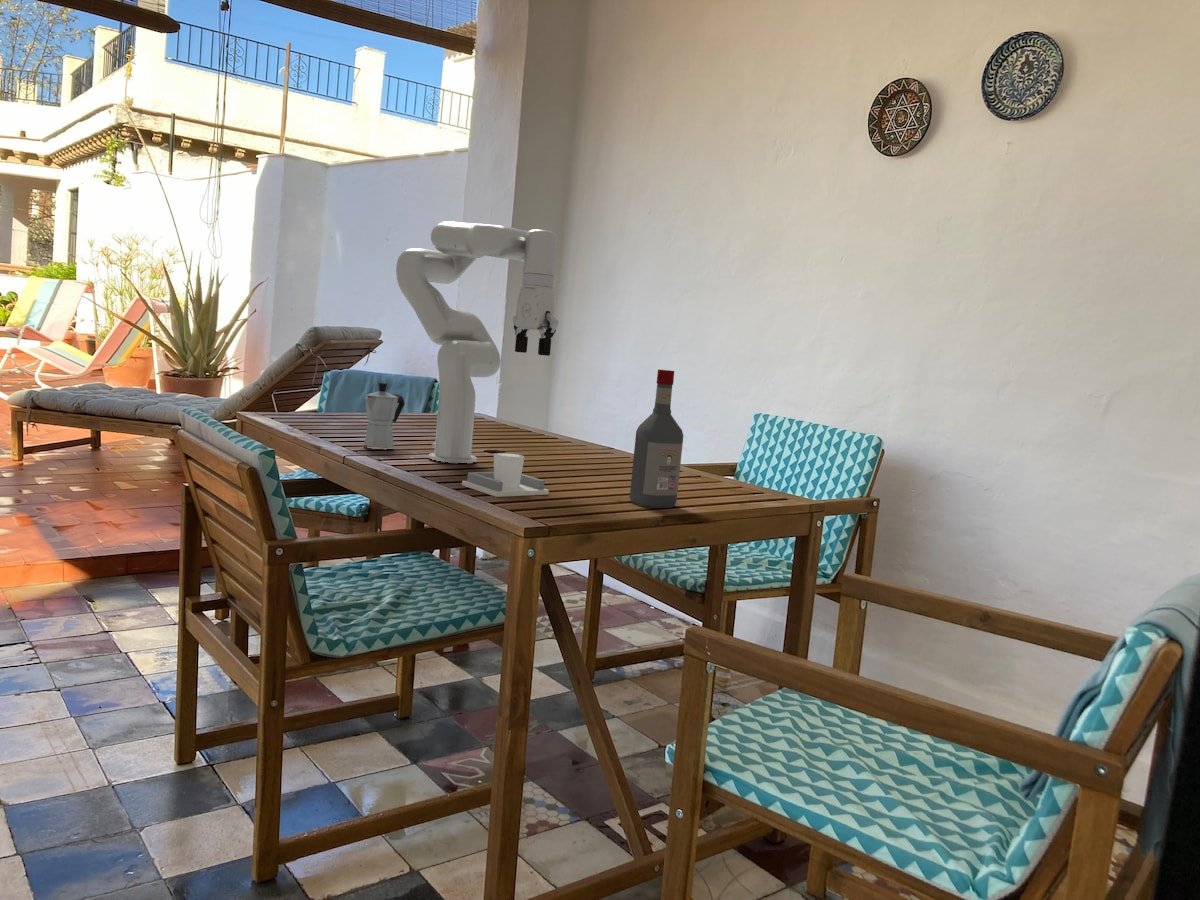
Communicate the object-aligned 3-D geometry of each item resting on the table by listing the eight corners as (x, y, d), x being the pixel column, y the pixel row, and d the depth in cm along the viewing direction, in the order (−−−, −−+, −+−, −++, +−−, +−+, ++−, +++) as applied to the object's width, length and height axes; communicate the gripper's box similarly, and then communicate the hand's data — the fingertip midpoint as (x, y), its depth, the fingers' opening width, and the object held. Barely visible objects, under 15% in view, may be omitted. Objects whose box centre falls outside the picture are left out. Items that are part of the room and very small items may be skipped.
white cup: (485, 483, 210) (487, 452, 209) (508, 482, 215) (510, 452, 214) (505, 489, 206) (507, 457, 205) (528, 487, 211) (530, 456, 210)
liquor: (681, 508, 208) (695, 373, 205) (646, 508, 204) (660, 370, 200) (658, 499, 216) (671, 369, 213) (624, 500, 212) (637, 367, 208)
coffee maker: (373, 451, 251) (377, 384, 249) (350, 446, 255) (353, 380, 253) (412, 448, 263) (416, 384, 261) (389, 444, 268) (393, 381, 266)
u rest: (461, 485, 212) (462, 471, 211) (513, 483, 221) (514, 470, 220) (495, 496, 201) (496, 483, 201) (548, 494, 210) (549, 481, 210)
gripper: (505, 280, 230) (499, 350, 232) (546, 281, 217) (540, 355, 219) (530, 283, 235) (524, 352, 237) (572, 284, 222) (565, 357, 224)
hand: (532, 353), depth 228 cm, fingers open, 9 cm apart
